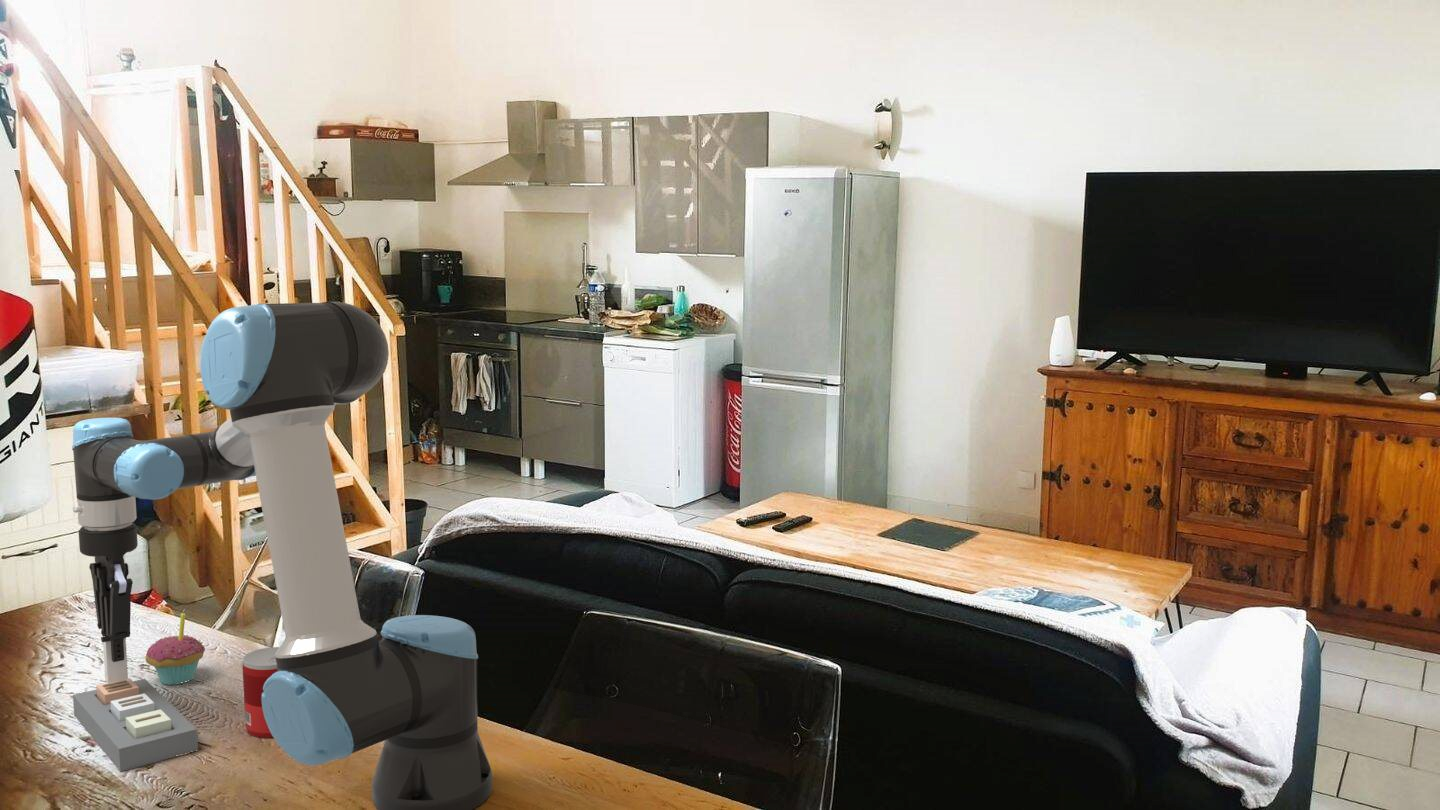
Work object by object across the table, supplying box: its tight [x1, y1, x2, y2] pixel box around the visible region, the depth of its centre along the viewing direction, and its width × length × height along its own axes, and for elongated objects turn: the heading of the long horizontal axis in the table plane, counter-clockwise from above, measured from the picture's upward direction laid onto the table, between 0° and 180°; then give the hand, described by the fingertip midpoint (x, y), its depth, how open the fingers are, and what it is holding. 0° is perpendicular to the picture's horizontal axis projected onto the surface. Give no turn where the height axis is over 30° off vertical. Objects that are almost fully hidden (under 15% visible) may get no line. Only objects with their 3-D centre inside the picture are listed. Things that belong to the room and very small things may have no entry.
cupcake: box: [145, 608, 206, 685], centre depth 188 cm, size 9×8×12 cm
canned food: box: [242, 646, 280, 739], centre depth 171 cm, size 8×8×11 cm
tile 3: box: [95, 677, 139, 705], centre depth 174 cm, size 5×5×2 cm
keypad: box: [72, 678, 199, 773], centre depth 169 cm, size 24×10×3 cm, turn 42°
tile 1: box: [126, 709, 172, 739], centre depth 163 cm, size 5×5×2 cm
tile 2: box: [110, 693, 155, 722], centre depth 169 cm, size 5×5×2 cm
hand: (116, 679), depth 174 cm, fingers closed
